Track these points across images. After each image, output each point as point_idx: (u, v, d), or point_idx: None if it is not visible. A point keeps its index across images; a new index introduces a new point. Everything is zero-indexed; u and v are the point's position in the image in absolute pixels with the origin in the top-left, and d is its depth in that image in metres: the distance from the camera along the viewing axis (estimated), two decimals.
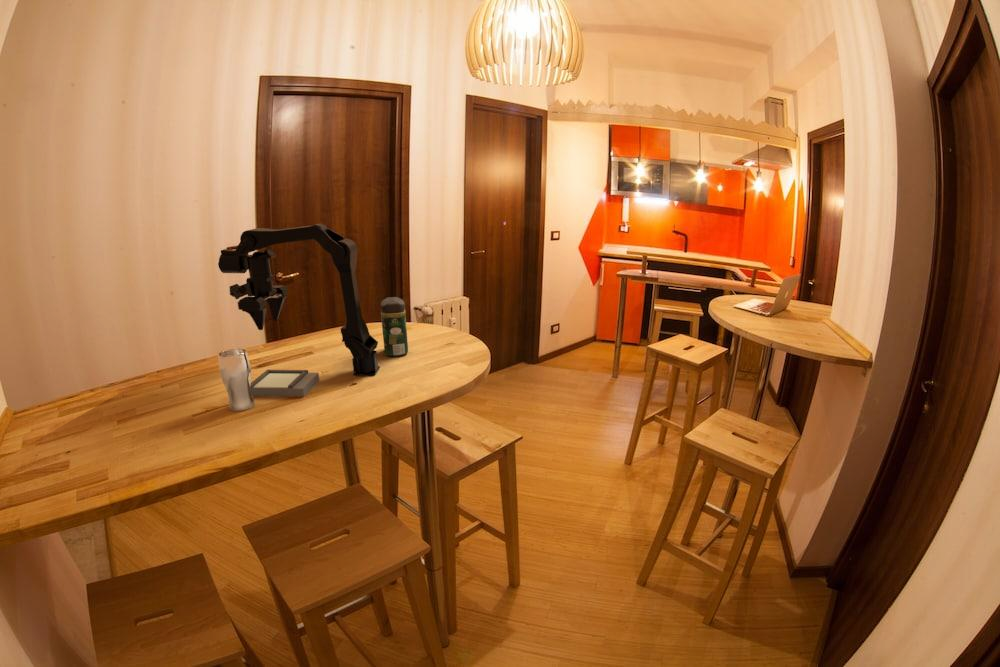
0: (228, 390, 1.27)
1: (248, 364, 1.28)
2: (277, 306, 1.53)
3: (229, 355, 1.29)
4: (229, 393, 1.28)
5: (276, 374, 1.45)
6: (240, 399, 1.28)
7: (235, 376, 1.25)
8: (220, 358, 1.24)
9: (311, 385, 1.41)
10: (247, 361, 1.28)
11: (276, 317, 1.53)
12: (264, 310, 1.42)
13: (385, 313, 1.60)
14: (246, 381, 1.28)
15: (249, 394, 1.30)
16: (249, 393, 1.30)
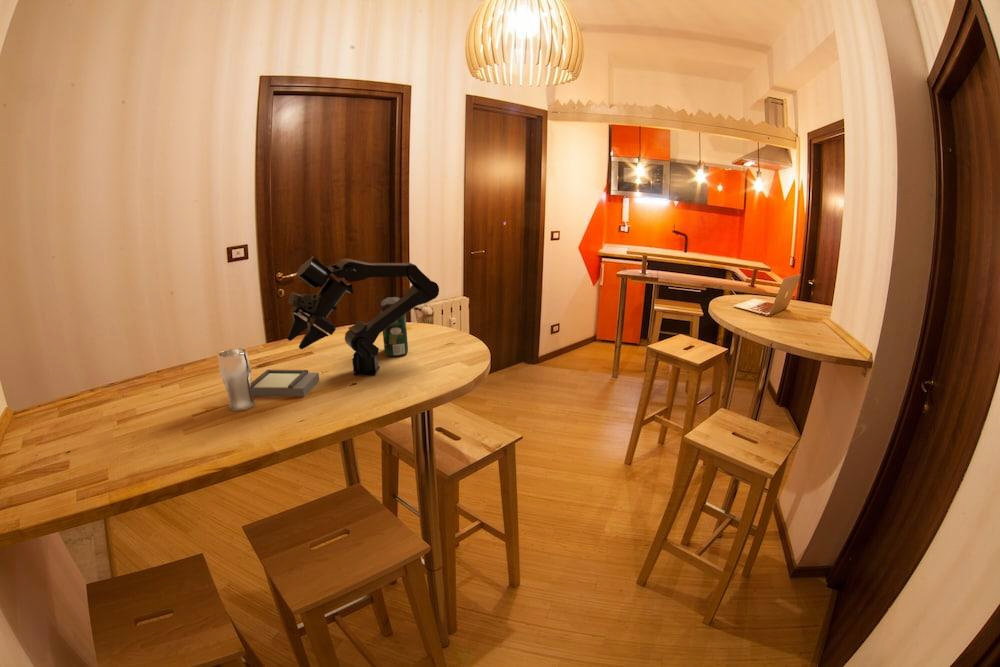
0: (228, 390, 1.27)
1: (248, 364, 1.28)
2: (300, 328, 1.43)
3: (229, 355, 1.29)
4: (229, 393, 1.28)
5: (276, 374, 1.45)
6: (240, 399, 1.28)
7: (235, 376, 1.25)
8: (220, 358, 1.24)
9: (311, 385, 1.41)
10: (247, 361, 1.28)
11: (292, 338, 1.41)
12: None
13: None
14: (246, 381, 1.28)
15: (249, 394, 1.30)
16: (249, 393, 1.30)
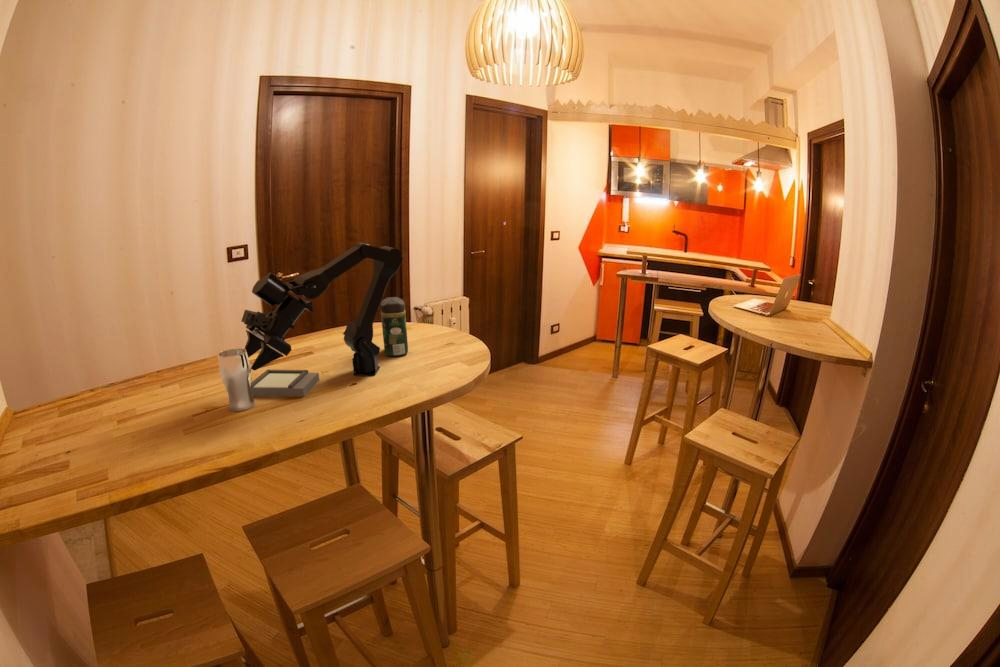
0: (228, 390, 1.27)
1: (248, 364, 1.28)
2: (255, 347, 1.35)
3: (229, 355, 1.29)
4: (229, 393, 1.28)
5: (276, 374, 1.45)
6: (240, 399, 1.28)
7: (235, 376, 1.25)
8: (220, 358, 1.24)
9: (311, 385, 1.41)
10: (247, 361, 1.28)
11: None
12: None
13: (385, 313, 1.60)
14: (246, 381, 1.28)
15: (249, 394, 1.30)
16: (249, 393, 1.30)
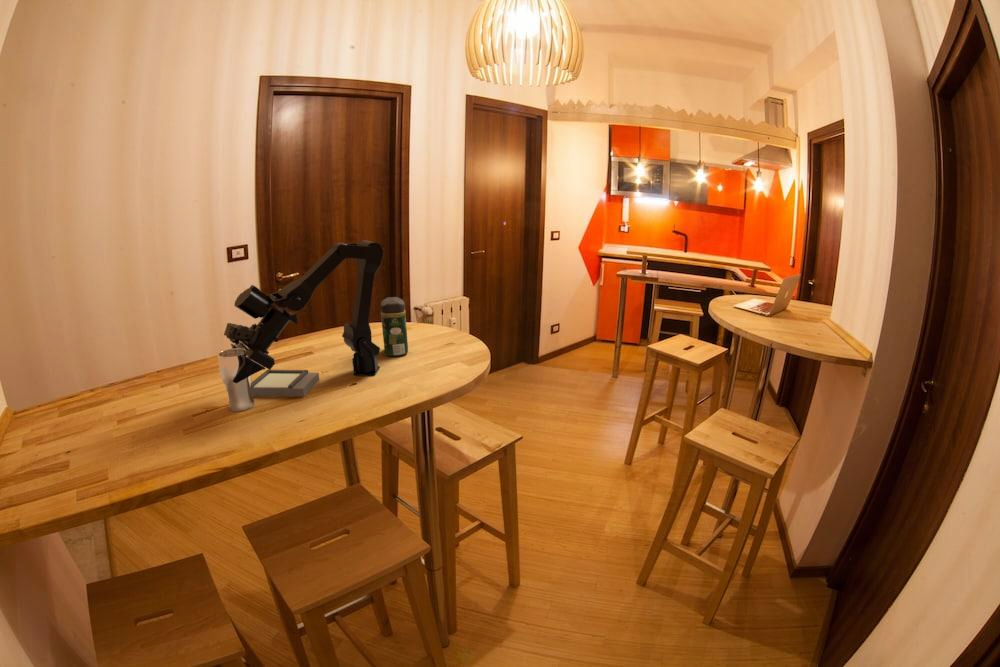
0: (228, 390, 1.27)
1: None
2: None
3: (229, 355, 1.29)
4: (229, 393, 1.28)
5: (276, 374, 1.45)
6: (240, 399, 1.28)
7: None
8: (220, 358, 1.24)
9: (311, 385, 1.41)
10: None
11: None
12: None
13: (385, 313, 1.60)
14: (246, 381, 1.28)
15: (249, 394, 1.30)
16: (249, 393, 1.30)
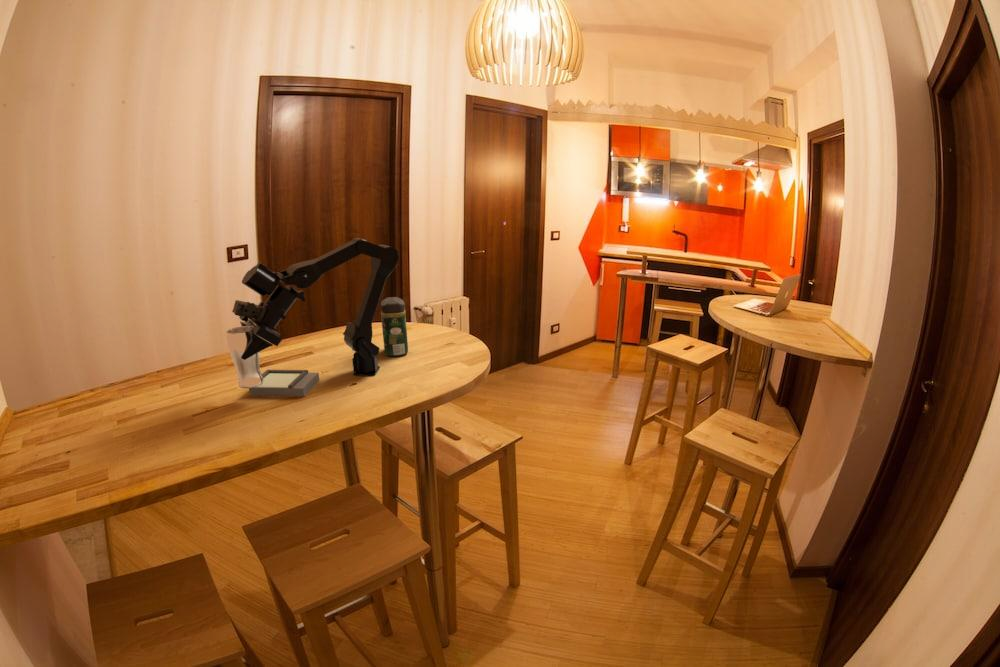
0: (237, 367, 1.29)
1: None
2: None
3: (238, 333, 1.31)
4: (238, 370, 1.29)
5: (276, 374, 1.45)
6: (249, 376, 1.30)
7: None
8: (228, 335, 1.26)
9: (311, 385, 1.41)
10: None
11: None
12: None
13: (385, 313, 1.60)
14: (254, 358, 1.29)
15: (258, 371, 1.31)
16: (258, 370, 1.31)
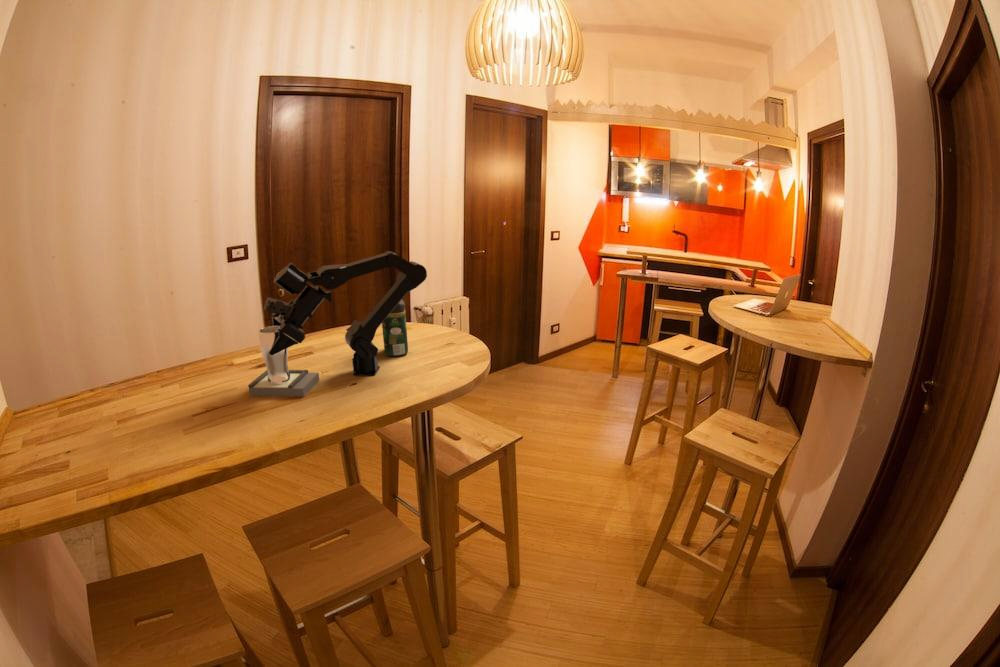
0: (266, 364, 1.37)
1: None
2: None
3: (270, 332, 1.39)
4: (267, 367, 1.37)
5: None
6: (277, 373, 1.37)
7: None
8: (260, 334, 1.34)
9: (311, 385, 1.41)
10: None
11: None
12: None
13: None
14: (283, 357, 1.37)
15: (285, 369, 1.39)
16: (285, 368, 1.39)
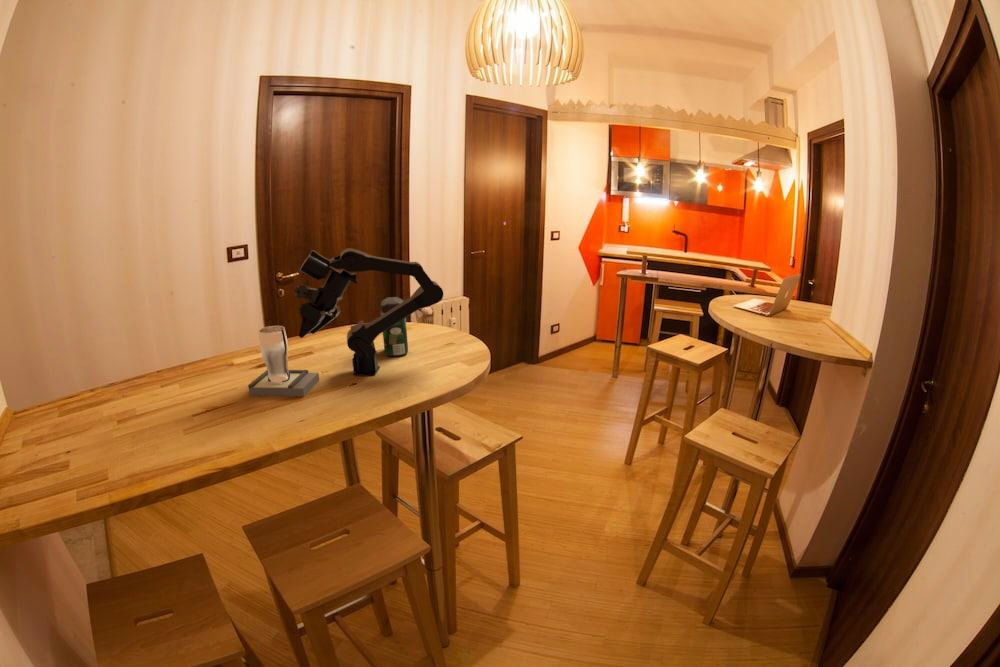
0: (266, 364, 1.37)
1: (285, 341, 1.37)
2: (322, 322, 1.49)
3: (270, 332, 1.39)
4: (267, 367, 1.37)
5: None
6: (277, 373, 1.37)
7: (272, 351, 1.34)
8: (260, 334, 1.34)
9: (311, 385, 1.41)
10: (284, 338, 1.36)
11: (315, 331, 1.49)
12: (318, 323, 1.38)
13: None
14: (283, 357, 1.37)
15: (285, 369, 1.39)
16: (285, 368, 1.39)
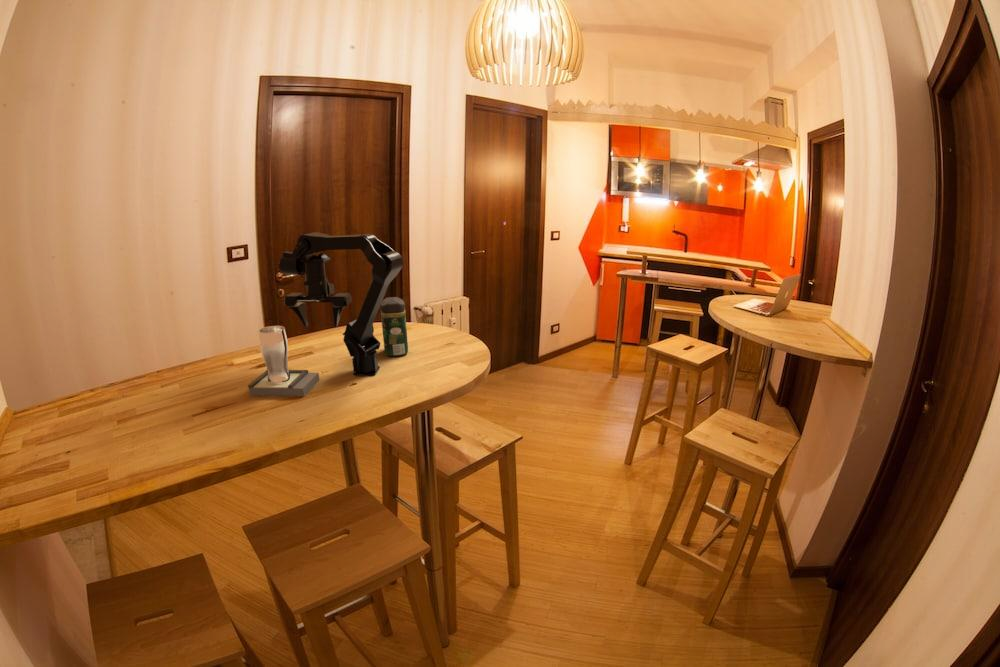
0: (266, 364, 1.37)
1: (285, 341, 1.37)
2: None
3: (270, 332, 1.39)
4: (267, 367, 1.37)
5: None
6: (277, 373, 1.37)
7: (272, 351, 1.34)
8: (260, 334, 1.34)
9: (311, 385, 1.41)
10: (284, 338, 1.36)
11: None
12: (295, 309, 1.49)
13: (385, 313, 1.60)
14: (283, 357, 1.37)
15: (285, 369, 1.39)
16: (285, 368, 1.39)
